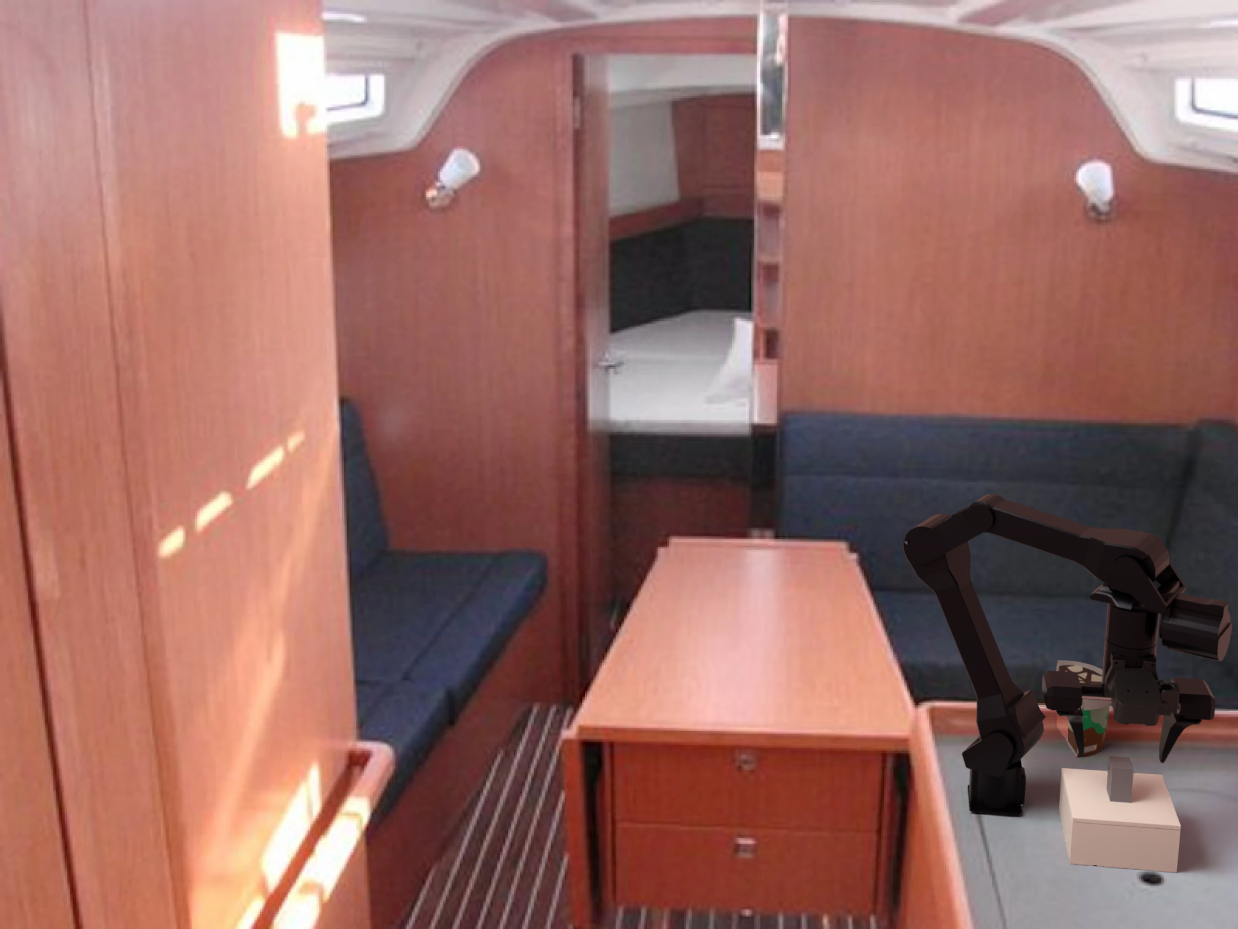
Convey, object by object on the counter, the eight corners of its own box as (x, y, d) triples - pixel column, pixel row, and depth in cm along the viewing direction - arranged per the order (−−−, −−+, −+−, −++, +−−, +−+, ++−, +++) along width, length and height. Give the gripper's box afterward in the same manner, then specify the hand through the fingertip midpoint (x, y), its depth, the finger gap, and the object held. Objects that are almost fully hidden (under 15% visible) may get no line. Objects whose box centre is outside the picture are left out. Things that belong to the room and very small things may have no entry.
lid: (1072, 821, 155) (1075, 784, 153) (1061, 771, 166) (1063, 736, 164) (1180, 830, 152) (1183, 791, 151) (1161, 778, 163) (1164, 742, 162)
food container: (1125, 761, 179) (1130, 695, 176) (1080, 763, 179) (1084, 696, 176) (1095, 720, 191) (1099, 657, 188) (1052, 721, 191) (1056, 658, 188)
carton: (1069, 863, 156) (1072, 822, 155) (1059, 811, 167) (1061, 772, 166) (1176, 872, 154) (1180, 830, 152) (1158, 818, 165) (1161, 779, 163)
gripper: (1055, 664, 148) (1047, 786, 152) (1232, 673, 144) (1219, 799, 148) (1045, 625, 158) (1038, 741, 162) (1209, 633, 154) (1198, 751, 159)
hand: (1121, 758), depth 158 cm, fingers open, 9 cm apart
